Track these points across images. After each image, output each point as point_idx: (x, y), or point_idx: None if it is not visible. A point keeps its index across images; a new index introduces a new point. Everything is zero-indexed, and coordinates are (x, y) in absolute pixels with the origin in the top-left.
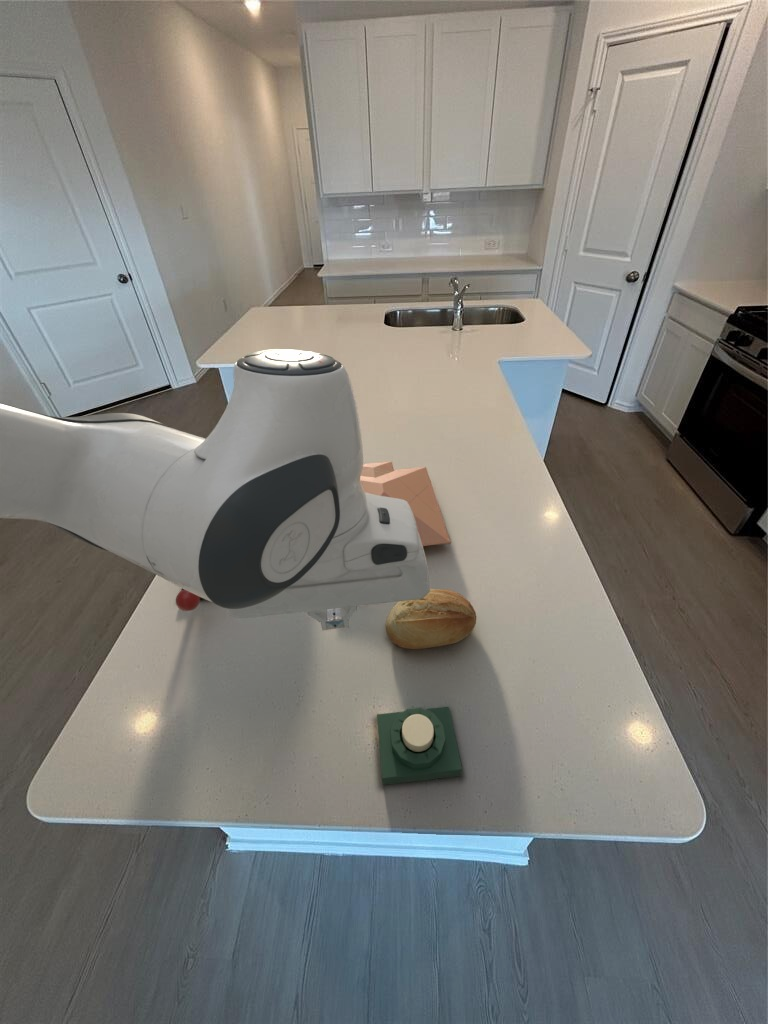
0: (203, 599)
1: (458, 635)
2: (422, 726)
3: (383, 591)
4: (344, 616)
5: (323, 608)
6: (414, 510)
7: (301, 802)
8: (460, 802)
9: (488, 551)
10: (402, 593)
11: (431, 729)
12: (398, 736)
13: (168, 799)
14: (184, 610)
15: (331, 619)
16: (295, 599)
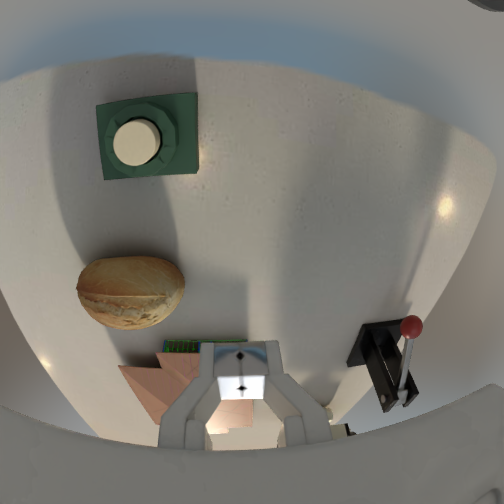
0: (387, 321)
1: (89, 268)
2: (127, 148)
3: (52, 484)
4: (206, 391)
5: (276, 460)
6: (158, 401)
7: (301, 86)
8: (109, 77)
9: (85, 346)
10: (12, 448)
11: (115, 144)
12: (164, 138)
13: (430, 128)
14: (415, 316)
15: (250, 379)
16: (382, 501)
